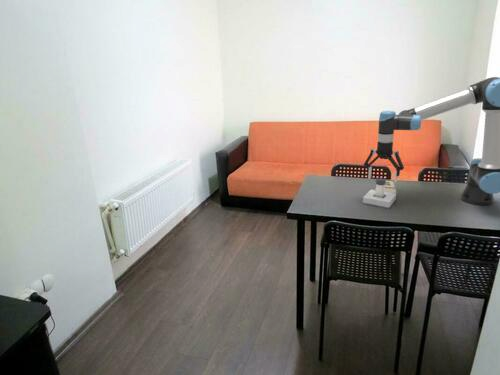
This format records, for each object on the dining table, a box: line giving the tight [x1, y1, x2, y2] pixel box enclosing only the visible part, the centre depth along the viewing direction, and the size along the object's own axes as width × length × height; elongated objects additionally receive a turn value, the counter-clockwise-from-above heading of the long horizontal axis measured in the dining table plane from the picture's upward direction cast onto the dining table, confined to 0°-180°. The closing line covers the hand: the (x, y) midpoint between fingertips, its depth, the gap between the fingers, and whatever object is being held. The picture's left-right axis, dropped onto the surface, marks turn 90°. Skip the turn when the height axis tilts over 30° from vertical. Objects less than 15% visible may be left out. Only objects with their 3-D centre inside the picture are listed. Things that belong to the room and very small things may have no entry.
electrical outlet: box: [384, 180, 397, 196], centre depth 206 cm, size 7×4×18 cm
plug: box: [375, 178, 387, 198], centre depth 191 cm, size 5×5×12 cm
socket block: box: [362, 189, 397, 209], centre depth 193 cm, size 14×14×4 cm
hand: (382, 180), depth 189 cm, fingers open, 13 cm apart
